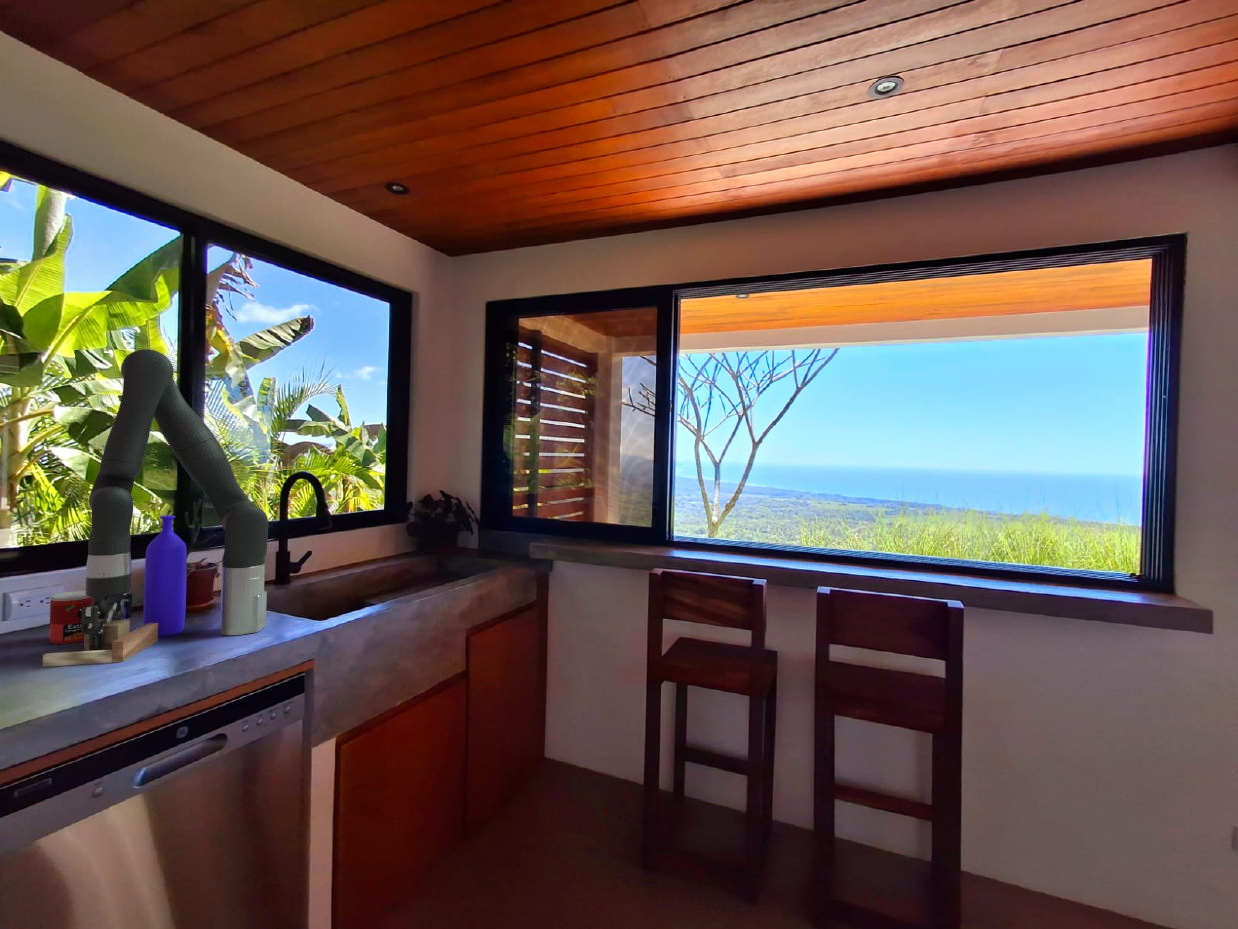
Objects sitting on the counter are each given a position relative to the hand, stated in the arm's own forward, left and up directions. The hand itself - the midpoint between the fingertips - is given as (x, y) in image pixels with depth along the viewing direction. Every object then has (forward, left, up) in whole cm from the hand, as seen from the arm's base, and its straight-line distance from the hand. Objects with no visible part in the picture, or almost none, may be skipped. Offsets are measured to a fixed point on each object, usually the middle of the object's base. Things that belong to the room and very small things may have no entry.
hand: (107, 645), depth 123 cm
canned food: (+13, -13, -2) cm, 19 cm away
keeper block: (0, 0, -2) cm, 2 cm away
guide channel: (0, 0, -2) cm, 2 cm away
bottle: (-5, -15, -2) cm, 15 cm away
